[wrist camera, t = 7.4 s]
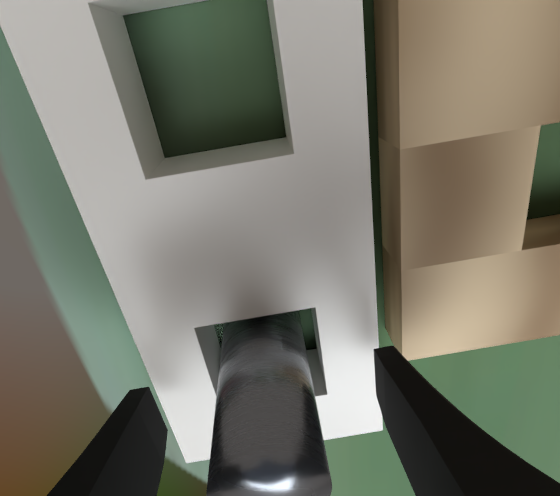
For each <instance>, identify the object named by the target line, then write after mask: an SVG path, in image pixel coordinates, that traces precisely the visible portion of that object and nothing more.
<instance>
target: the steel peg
mask: <svg viewBox="0 0 560 496" xmlns="http://www.w3.org/2000/svg"><path fill="white" fill-rule="evenodd" d="M331 491H332V482H331V477H330V471H329V466H328V461H327V456H326V451H325V445H324V440H323V435H322V430H321V425H320V419H319V414H318V409H317V404H316V399H315V393H314V388H313V383H312V378H311V373H310V367H309V362H308V357H307V352H306V347H305V341H304V336H303V331H302V326H301V321H300V315H299V310H297V311H291V312H285V313H279V314H273V315H267V316H261V317H255V318H250V319H244V320H238V321H232V322H226V323H224V328H223V337H222V347H221V357H220V367H219V376H218V386H217V396H216V406H215V415H214V425H213V435H212V444H211V454H210V464H209V474H208V483H207V496H330V494H331Z"/></svg>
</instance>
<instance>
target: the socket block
mask: <svg viewBox="0 0 560 496" xmlns="http://www.w3.org/2000/svg"><path fill="white" fill-rule="evenodd" d="M374 28H375V56H376V83H377V111H378V139H379V167H380V195H381V222H382V250H383V278H384V306H385V328H386V330H387V332H388V334H389V336H390V338H391V340H392V342H393V344H394V346H395V348H397V350H398V351H399V352H400V353H401V354H402V355H403V356H404V357H405V359H406V360H407V361H408V360H414V359H420V358H426V357H432V356H438V355H444V354H450V353H455V352H461V351H467V350H473V349H479V348H485V347H491V346H497V345H503V344H509V343H515V342H521V341H527V340H533V339H539V338H545V337H551V336H556V335H560V214H558V215H552V216H546V217H541V218H535V219H529V220H526V219H527V212H528V206H529V199H530V192H531V186H532V179H533V173H534V166H535V160H536V153H537V147H538V140H539V134H540V127H541V125H546V124H551V123H557V122H560V0H374Z"/></svg>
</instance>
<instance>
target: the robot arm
mask: <svg viewBox="0 0 560 496" xmlns="http://www.w3.org/2000/svg"><path fill="white" fill-rule="evenodd" d="M374 366H375V384H376V396H377V400H378V403H379V406H380V409H381V413H382V416H383V419H384V422H385V425H386V428H387V430H388V433H389V435H390V437H391V440H392V442H393V444H394V447H395V449H396V451H397V453H398V456H399V458H400V460H401V463H402V465H403V467H404V470H405V472H406V474H407V476H408V479H409V481H410V483H411V486H412V488H413V490H414V493H415V495H416V496H560V483H558V482H557V481H555V480H554V479H552V478H551V477H549V476H547V475H546V474H544V473H543V472H541V471H540V470H538V469H537V468H535V467H533V466H532V465H530V464H529V463H527V462H526V461H524V460H523V459H522V458H520V457H519V456H517V455H516V454H514V453H513V452H512V451H510V450H509V449H507V448H506V447H505V446H503V445H502V444H501V443H499V442H498V441H497V440H495V439H494V438H493V437H491V436H490V435H489V434H487V433H486V432H485V431H484V430H482V429H481V428H480V427H478V426H477V425H476V424H475V423H474V422H472V421H471V420H470V419H469V418H468V417H466V416H465V415H464V414H463V413H462V412H461V411H459V410H458V409H457V408H456V407H455V406H454V405H452V404H451V403H450V402H449V401H448V400H447V399H446V398H445V397H444V396H443V395H442V394H440V393H439V392H438V391H437V390H436V389H435V388H434V387H433V386H432V385H431V384H430V383H429V382H428V381H427V380H426V379H425V378H424V377H423V376H422V375H421V374H420V373H419V372H418V371H417V370H416V369H415V368H414V367H413V366H412V365H411V364H410V363H409V362H408V361H407V360H406V359H405V357H404V356H403V355H402V354H401V353H400V352H399V351H398V350H397V348H395V347H394V346H388V347H382V348H376V349H374ZM167 431H168V430H167V428H166V425H165V423H164V421H163V418H162V416H161V414H160V411H159V409H158V407H157V404H156V402H155V400H154V398H153V395H152V393H151V391H150V388H149V387H145V388H139V389H133V390H130V391H129V392H128V393H127V395H126V396H125V397H124V399H123V400H122V401H121V402H120V404H119V405H118V406H117V408H116V409H115V410H114V412H113V413H112V414H111V416H110V417H109V419H108V420H107V421H106V423H105V424H104V425H103V427H102V428H101V429H100V431H99V432H98V433H97V435H96V436H95V437H94V438H93V440H92V441H91V442H90V444H89V445H88V446H87V448H86V449H85V450H84V451H83V453H82V454H81V455H80V456H79V458H78V459H77V460H76V462H75V463H74V464H73V465H72V466H71V467H70V469H69V470H68V471H67V472H66V473H65V475H64V476H63V477H62V478H61V480H60V481H59V482H58V483H57V484H56V485H55V487H54V488H53V489H52V490H51V491H50V492H49V494H48V495H47V496H156V495H157V491H158V487H159V482H160V478H161V474H162V469H163V464H164V458H165V450H166V440H167Z"/></svg>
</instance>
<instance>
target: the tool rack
mask: <svg viewBox="0 0 560 496" xmlns="http://www.w3.org/2000/svg"><path fill="white" fill-rule="evenodd" d="M202 1H207V0H0V26H1V28H2V31H3V33H4V35H5V38H6V40H7V42H8V45H9V47H10V49H11V52H12V54H13V56H14V59H15V61H16V64H17V66H18V68H19V71H20V73H21V75H22V78H23V80H24V82H25V85H26V87H27V89H28V92H29V94H30V96H31V99H32V101H33V103H34V106H35V108H36V111H37V113H38V115H39V118H40V120H41V122H42V125H43V127H44V129H45V132H46V134H47V136H48V139H49V141H50V143H51V146H52V148H53V151H54V153H55V155H56V158H57V160H58V162H59V165H60V167H61V169H62V172H63V174H64V176H65V179H66V181H67V183H68V186H69V188H70V190H71V193H72V195H73V198H74V200H75V202H76V205H77V207H78V209H79V212H80V214H81V216H82V219H83V221H84V223H85V226H86V228H87V230H88V233H89V235H90V237H91V240H92V242H93V245H94V247H95V249H96V252H97V254H98V256H99V259H100V261H101V263H102V266H103V268H104V270H105V273H106V275H107V277H108V280H109V282H110V285H111V287H112V289H113V292H114V294H115V296H116V299H117V301H118V303H119V306H120V308H121V310H122V313H123V315H124V317H125V320H126V322H127V324H128V327H129V329H130V332H131V334H132V336H133V339H134V341H135V343H136V346H137V348H138V350H139V353H140V355H141V357H142V360H143V362H144V364H145V367H146V369H147V371H148V374H149V376H150V379H151V381H152V383H153V386H154V388H155V390H156V393H157V395H158V397H159V400H160V402H161V404H162V407H163V409H164V411H165V414H166V416H167V419H168V421H169V423H170V426H171V428H172V430H173V433H174V435H175V437H176V440H177V442H178V444H179V447H180V449H181V451H182V454H183V456H184V458H185V461H186V463H190V462H196V461H202V460H208V459H210V454H211V444H212V435H213V425H214V415H215V406H216V396H217V386H218V376H219V367H220V357H221V347H220V344H219V340H218V337H217V333H216V330H215V327H214V324H220V323H226V322H232V321H238V320H244V319H250V318H255V317H261V316H267V315H273V314H279V313H285V312H291V311H297V310H303V309H308V308H311V311H312V318H313V325H314V332H315V339H316V346H317V349H312V350H306V352H307V357H308V362H309V367H310V373H311V378H312V383H313V388H314V393H315V399H316V404H317V409H318V414H319V419H320V425H321V430H322V435H323V440H327V439H333V438H339V437H345V436H351V435H357V434H363V433H369V432H375V431H381V430H383V426H382V413H381V409H380V406H379V403H378V400H377V396H376V384H375V366H374V349H376V348H379V341H378V320H377V298H376V277H375V256H374V235H373V214H372V192H371V171H370V150H369V129H368V108H367V87H366V65H365V44H364V23H363V2H362V0H267V7H268V14H269V20H270V27H271V34H272V41H273V48H274V55H275V62H276V69H277V76H278V83H279V90H280V97H281V104H282V110H283V117H284V124H285V131H286V137H284V138H278V139H273V140H267V141H261V142H255V143H250V144H244V145H238V146H232V147H226V148H221V149H215V150H209V151H203V152H198V153H192V154H186V155H180V156H175V157H169V158H165V157H164V154H163V150H162V147H161V143H160V140H159V137H158V133H157V130H156V126H155V123H154V120H153V116H152V113H151V110H150V106H149V103H148V99H147V96H146V93H145V89H144V86H143V82H142V79H141V76H140V72H139V69H138V65H137V62H136V59H135V55H134V52H133V48H132V45H131V42H130V38H129V35H128V32H127V28H126V25H125V21H124V18H123V15H128V14H133V13H139V12H145V11H151V10H156V9H162V8H168V7H173V6H179V5H185V4H190V3H196V2H202Z"/></svg>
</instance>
